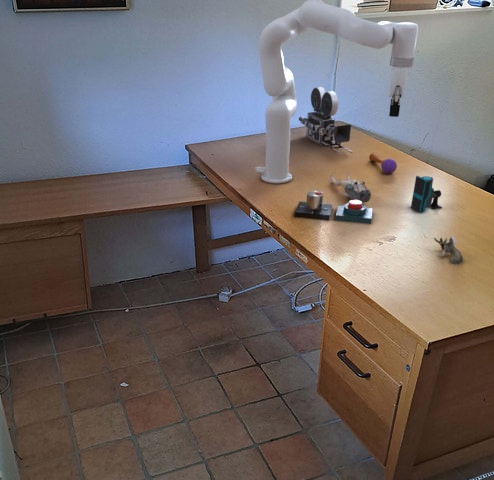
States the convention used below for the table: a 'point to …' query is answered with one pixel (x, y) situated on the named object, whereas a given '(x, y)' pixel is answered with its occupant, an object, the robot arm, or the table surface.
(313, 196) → the dial
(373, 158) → the purple maraca
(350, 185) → the anime figure
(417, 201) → the surveillance camera
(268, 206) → the table surface
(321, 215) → the dial panel
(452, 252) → the antlered animal figurine
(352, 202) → the red button
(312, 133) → the film camera
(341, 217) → the button box
